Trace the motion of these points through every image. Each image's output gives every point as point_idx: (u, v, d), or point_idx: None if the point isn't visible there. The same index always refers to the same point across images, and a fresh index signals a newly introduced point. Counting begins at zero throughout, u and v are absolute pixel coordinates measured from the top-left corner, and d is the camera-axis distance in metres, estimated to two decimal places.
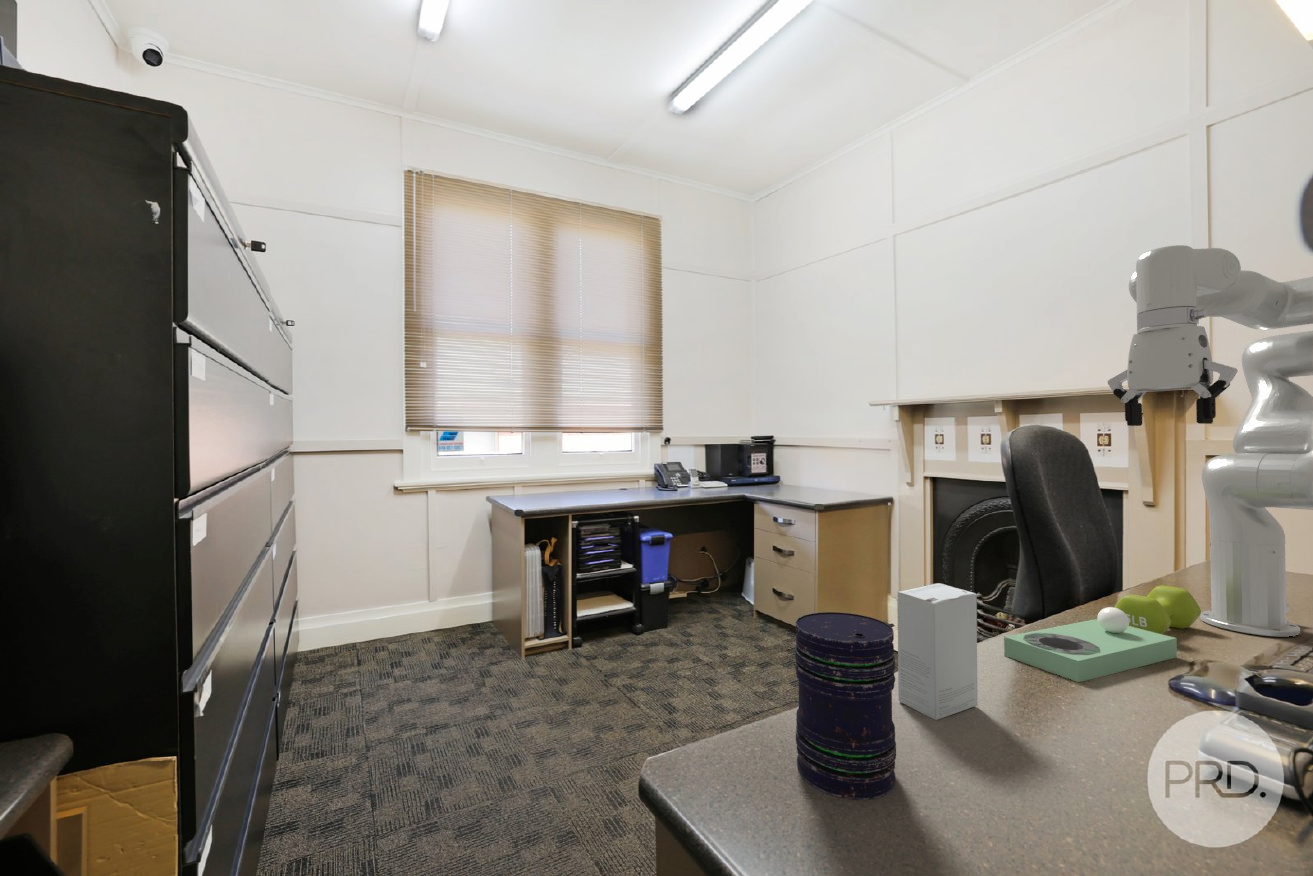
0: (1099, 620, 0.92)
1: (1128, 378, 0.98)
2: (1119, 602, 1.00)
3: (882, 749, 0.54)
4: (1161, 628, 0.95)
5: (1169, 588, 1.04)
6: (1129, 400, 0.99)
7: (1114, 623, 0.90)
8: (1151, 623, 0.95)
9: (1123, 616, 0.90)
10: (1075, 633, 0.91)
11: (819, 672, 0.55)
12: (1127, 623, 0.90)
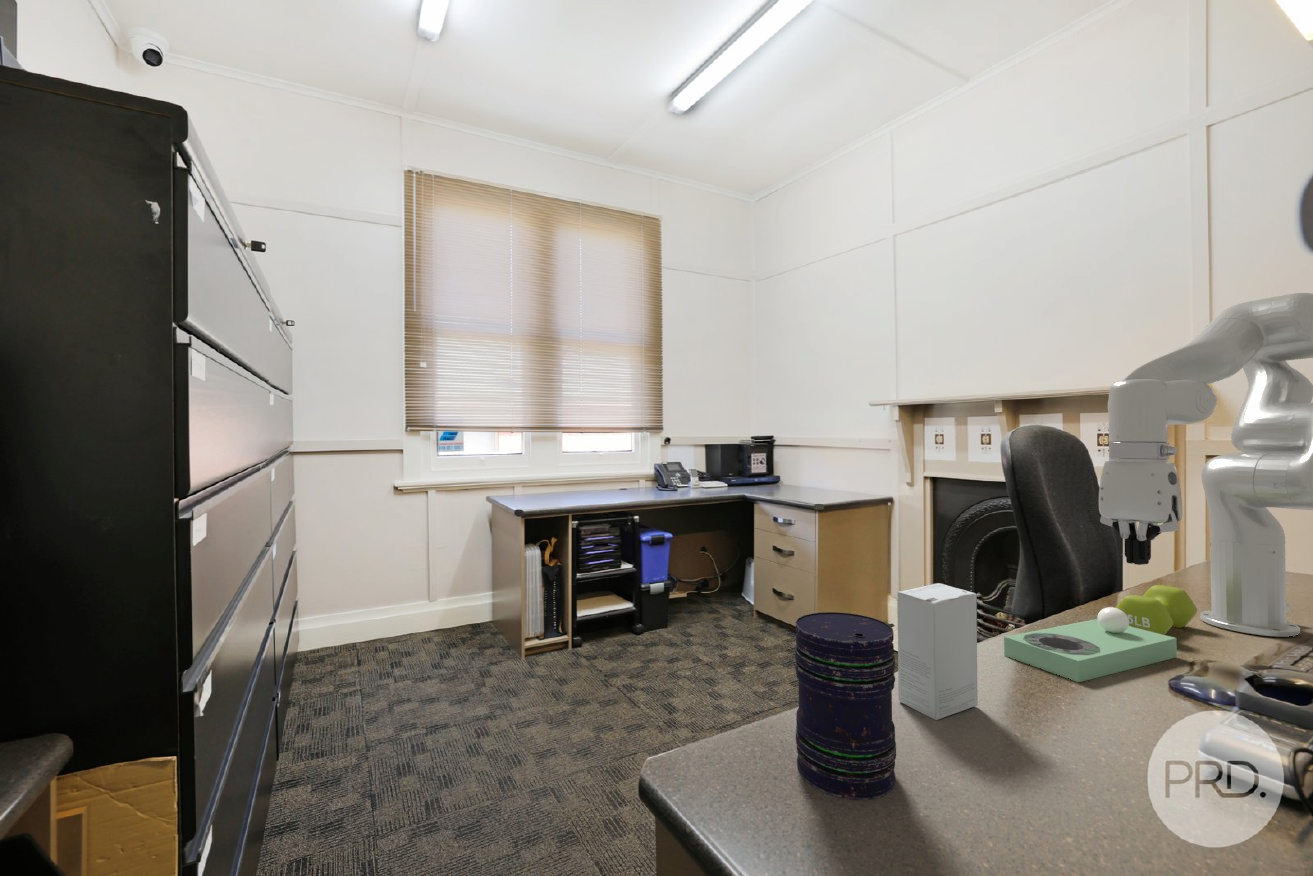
0: (1099, 620, 0.92)
1: (1099, 504, 0.98)
2: (1121, 603, 0.99)
3: (882, 749, 0.54)
4: (1164, 628, 0.94)
5: (1166, 587, 1.04)
6: (1129, 536, 0.94)
7: (1114, 623, 0.90)
8: (1154, 623, 0.95)
9: (1123, 616, 0.90)
10: (1075, 633, 0.91)
11: (819, 672, 0.55)
12: (1127, 623, 0.90)
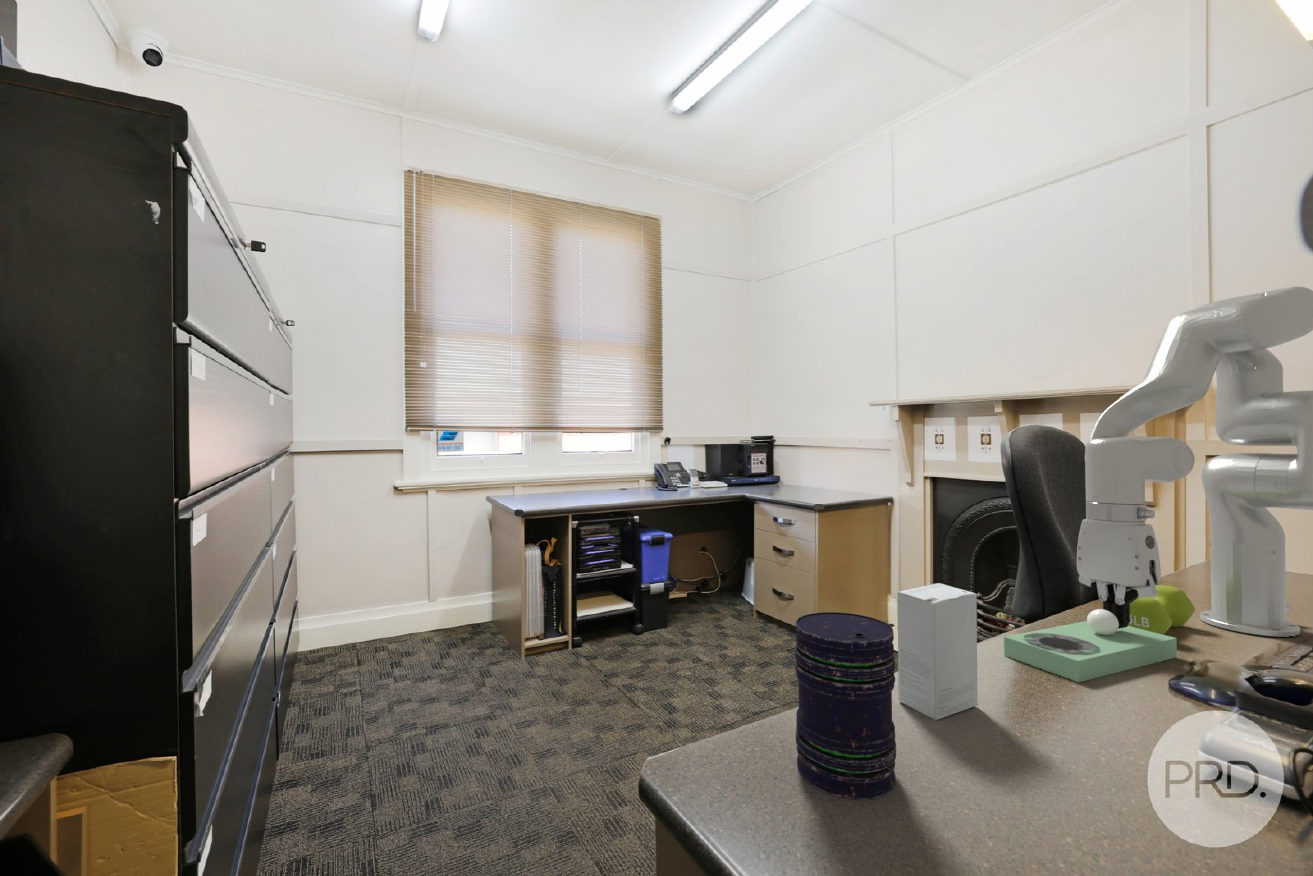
0: None
1: (1077, 564, 0.96)
2: None
3: (882, 749, 0.54)
4: (1163, 628, 0.94)
5: (1164, 587, 1.04)
6: (1107, 599, 0.92)
7: (1106, 633, 0.89)
8: (1154, 623, 0.95)
9: (1110, 623, 0.89)
10: (1075, 633, 0.91)
11: (819, 672, 0.55)
12: (1116, 625, 0.89)
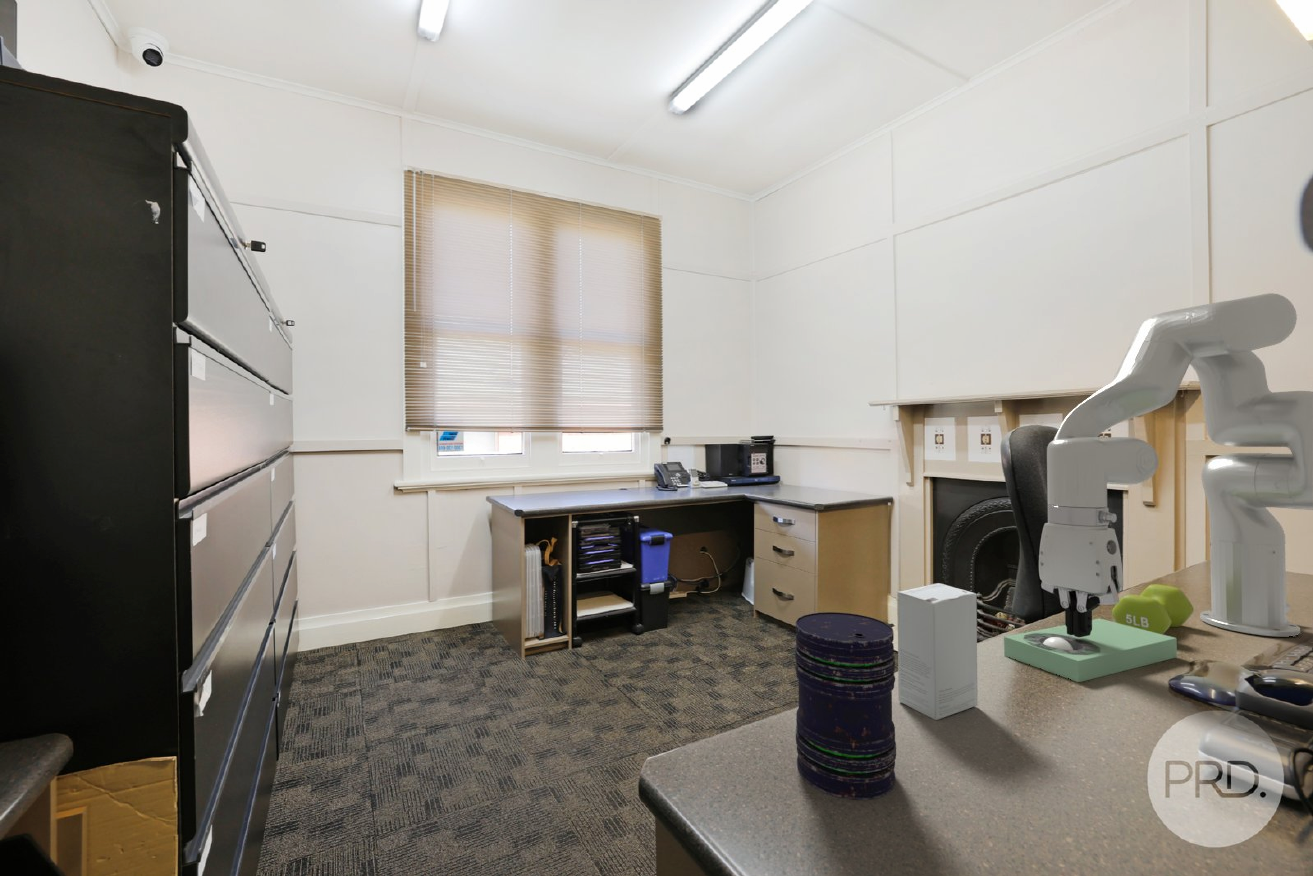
0: (1044, 644, 0.87)
1: (1039, 569, 0.92)
2: (1119, 602, 0.99)
3: (882, 749, 0.54)
4: (1163, 628, 0.95)
5: (1162, 587, 1.05)
6: (1069, 606, 0.88)
7: (1059, 647, 0.85)
8: (1153, 623, 0.95)
9: (1070, 647, 0.85)
10: None
11: (819, 672, 0.55)
12: None
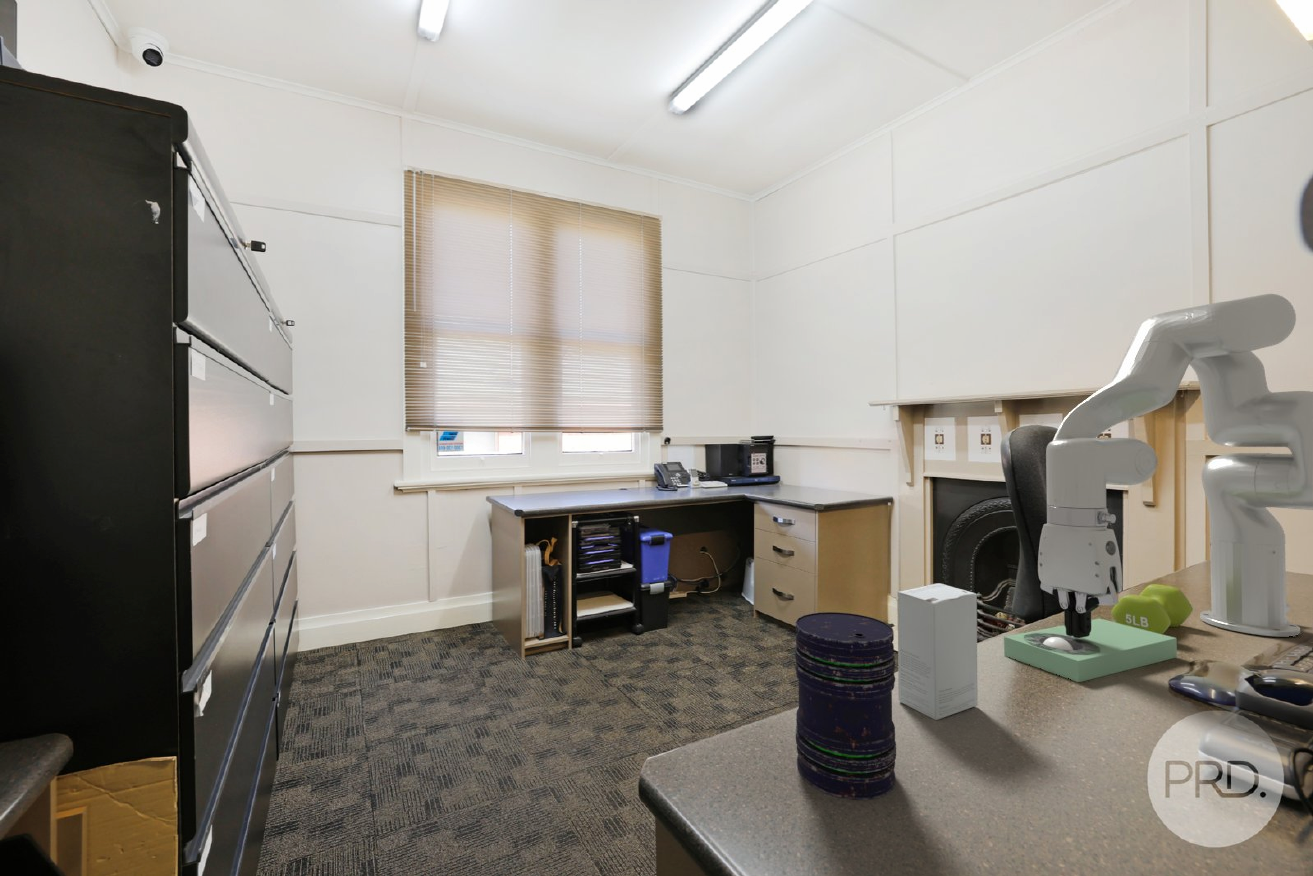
0: (1044, 644, 0.87)
1: (1038, 570, 0.92)
2: (1119, 602, 0.99)
3: (882, 749, 0.54)
4: (1162, 628, 0.95)
5: (1162, 587, 1.05)
6: (1068, 607, 0.88)
7: (1059, 647, 0.85)
8: (1153, 623, 0.95)
9: (1070, 647, 0.85)
10: None
11: (819, 672, 0.55)
12: None
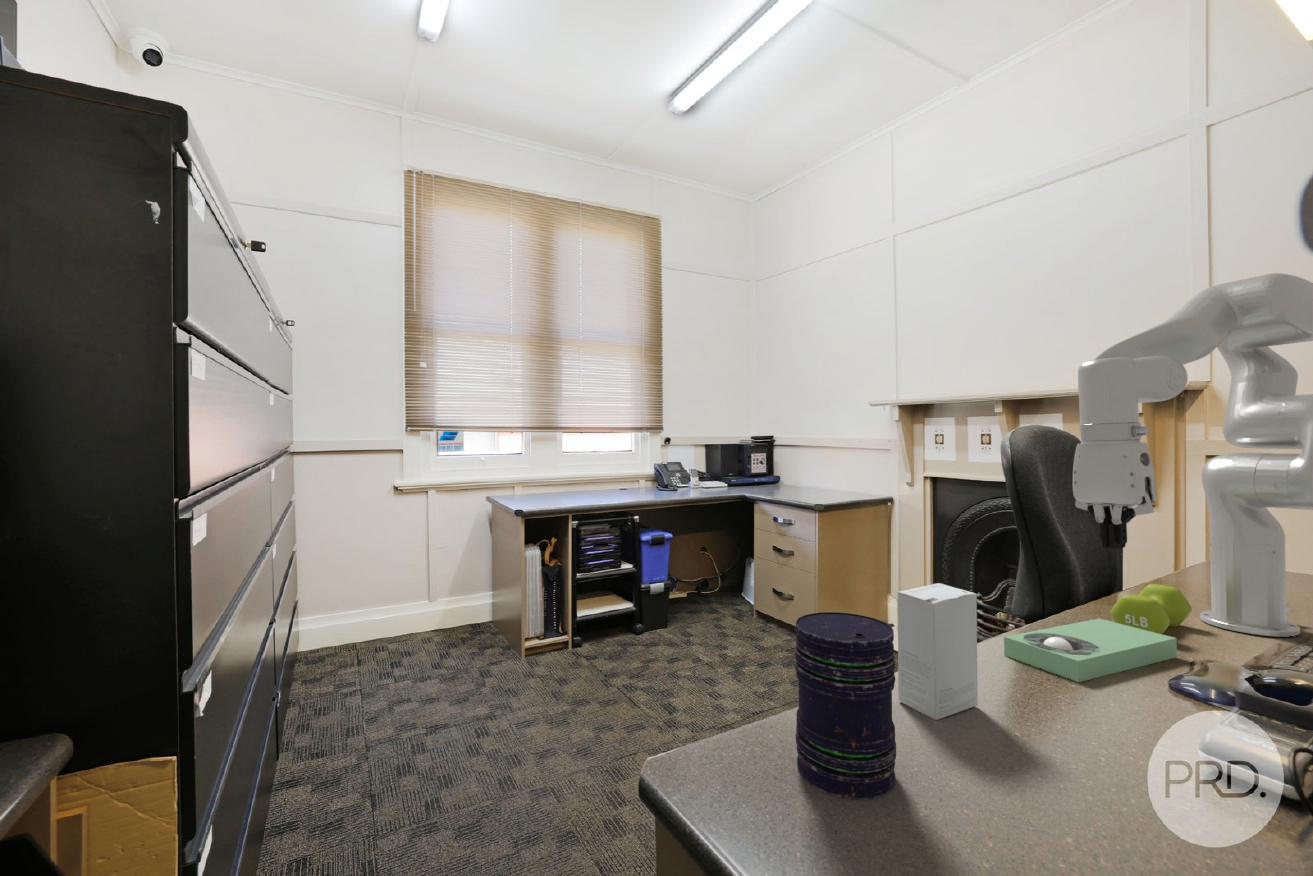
0: (1044, 643, 0.87)
1: (1073, 488, 0.95)
2: (1118, 602, 1.00)
3: (882, 749, 0.54)
4: (1162, 627, 0.95)
5: (1161, 587, 1.05)
6: (1104, 520, 0.92)
7: (1059, 647, 0.85)
8: (1152, 623, 0.95)
9: (1071, 647, 0.85)
10: (1075, 633, 0.91)
11: (819, 672, 0.55)
12: None
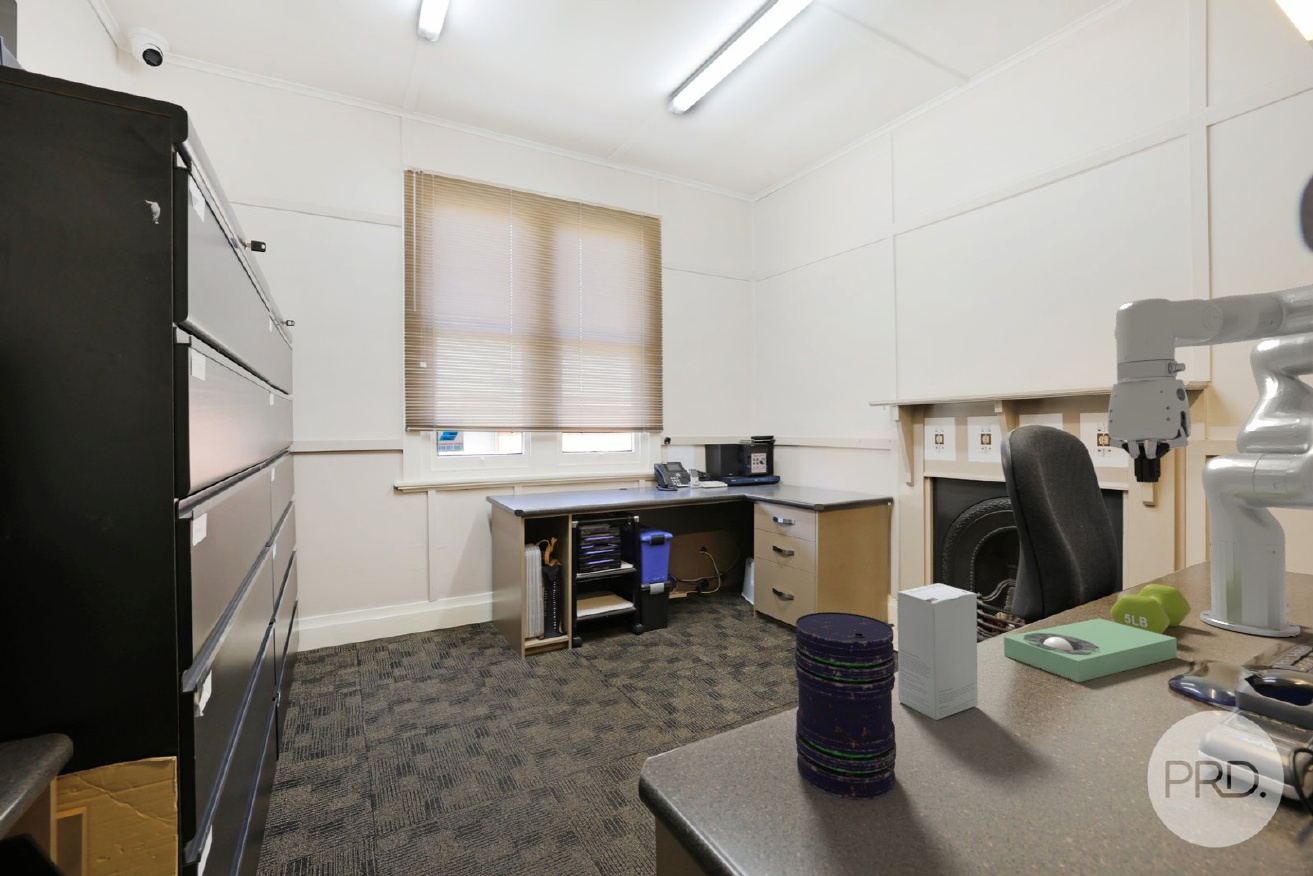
0: (1044, 643, 0.87)
1: (1108, 427, 0.99)
2: (1118, 602, 1.00)
3: (882, 749, 0.54)
4: (1161, 627, 0.95)
5: (1160, 586, 1.05)
6: (1138, 456, 0.96)
7: (1059, 647, 0.85)
8: (1152, 622, 0.95)
9: (1071, 647, 0.85)
10: (1075, 633, 0.91)
11: (819, 672, 0.55)
12: None
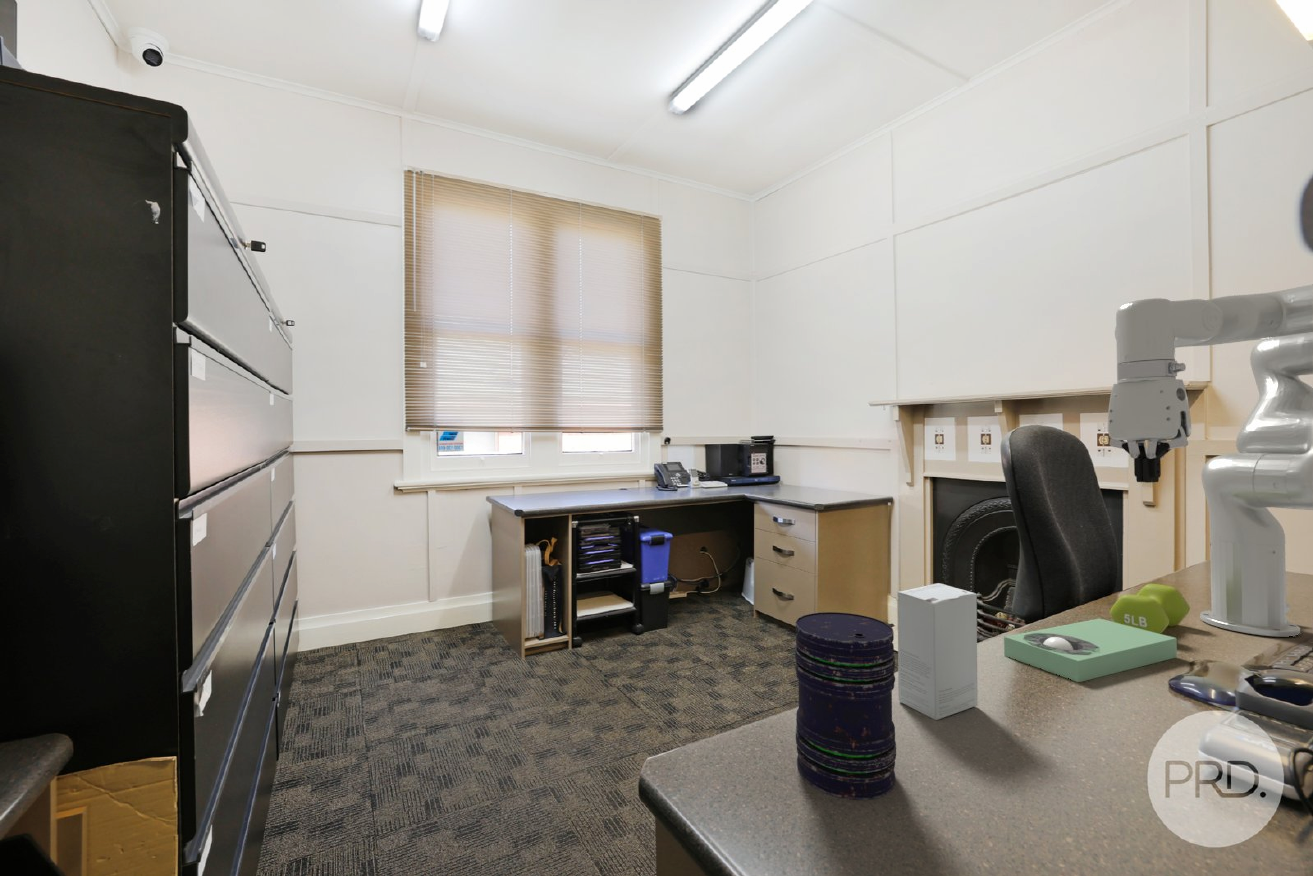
0: (1045, 643, 0.87)
1: (1108, 427, 0.99)
2: (1118, 602, 1.00)
3: (882, 749, 0.54)
4: (1161, 627, 0.95)
5: (1159, 586, 1.05)
6: (1138, 456, 0.96)
7: (1059, 647, 0.85)
8: (1151, 622, 0.95)
9: (1071, 647, 0.85)
10: (1075, 633, 0.91)
11: (819, 672, 0.55)
12: None
